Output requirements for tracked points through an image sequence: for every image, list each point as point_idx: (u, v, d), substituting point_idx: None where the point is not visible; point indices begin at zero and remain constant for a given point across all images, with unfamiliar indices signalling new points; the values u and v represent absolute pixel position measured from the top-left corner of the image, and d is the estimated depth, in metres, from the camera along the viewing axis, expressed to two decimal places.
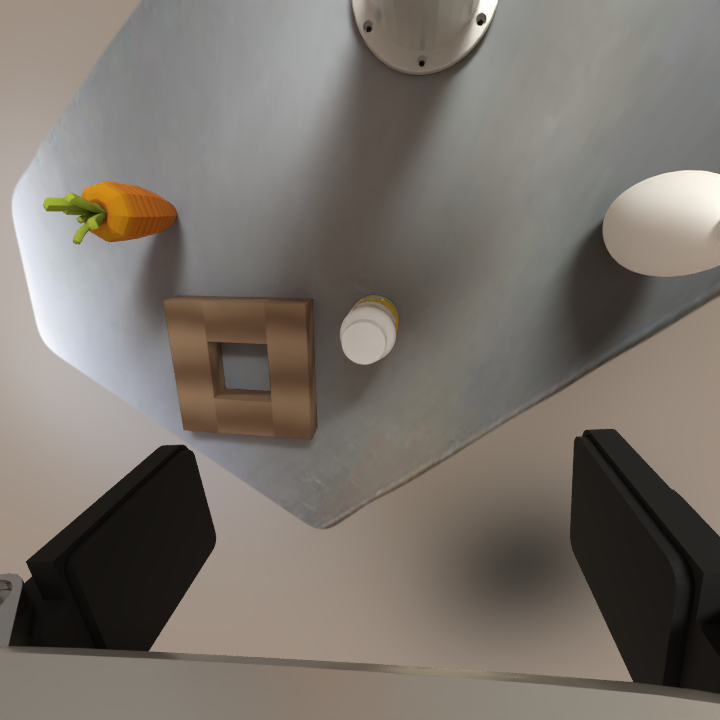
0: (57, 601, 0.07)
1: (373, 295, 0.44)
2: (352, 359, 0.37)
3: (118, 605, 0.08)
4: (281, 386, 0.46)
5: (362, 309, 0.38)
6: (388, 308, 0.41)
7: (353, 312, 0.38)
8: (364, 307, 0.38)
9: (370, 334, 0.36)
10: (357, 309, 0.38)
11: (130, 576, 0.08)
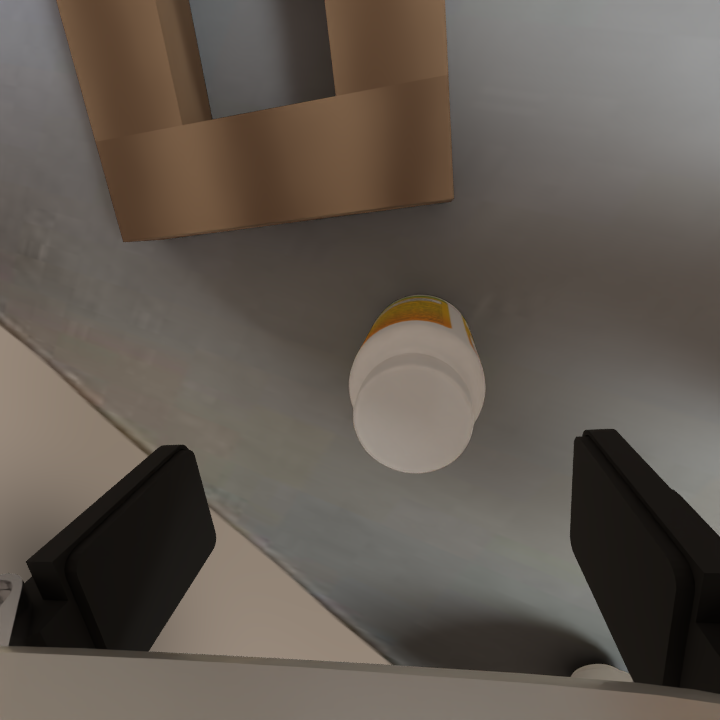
0: (57, 601, 0.07)
1: None
2: (363, 397, 0.13)
3: (118, 605, 0.08)
4: (230, 149, 0.18)
5: (482, 378, 0.15)
6: None
7: (473, 357, 0.15)
8: (484, 377, 0.16)
9: (440, 438, 0.13)
10: (479, 362, 0.15)
11: (130, 576, 0.08)
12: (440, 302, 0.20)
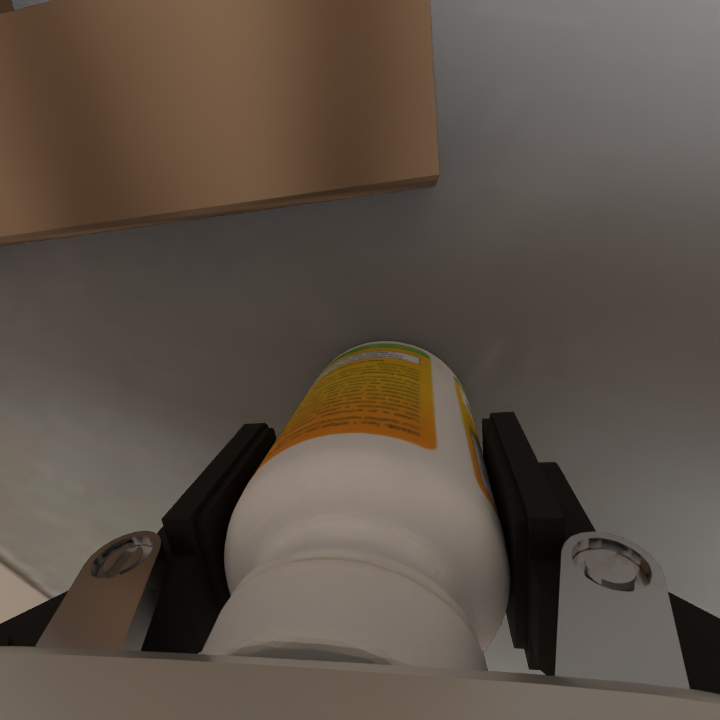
0: (188, 556, 0.07)
1: None
2: None
3: None
4: (13, 81, 0.09)
5: (505, 566, 0.07)
6: None
7: (484, 524, 0.07)
8: None
9: None
10: (497, 529, 0.07)
11: None
12: (417, 359, 0.12)
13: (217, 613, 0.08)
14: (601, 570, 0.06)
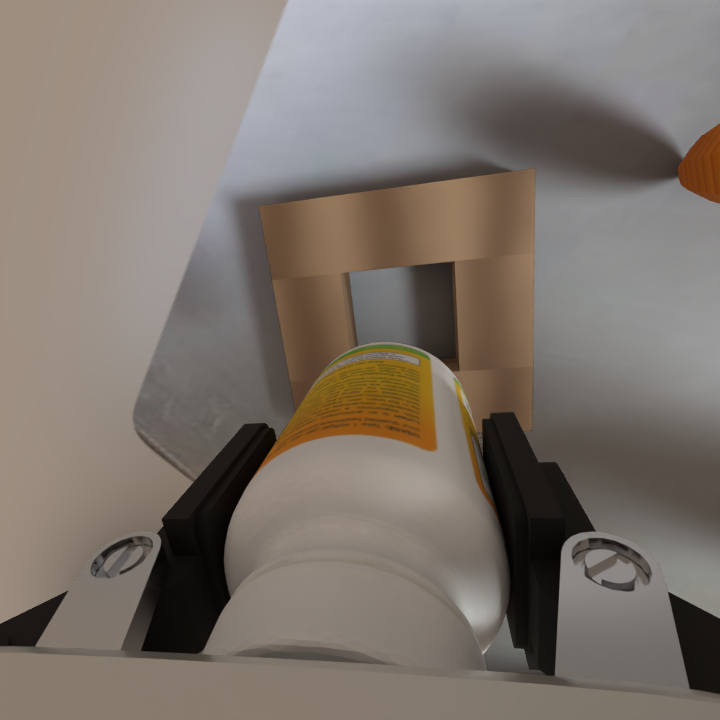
0: (188, 556, 0.07)
1: None
2: None
3: None
4: None
5: (505, 568, 0.07)
6: None
7: (485, 526, 0.07)
8: None
9: None
10: (497, 531, 0.07)
11: None
12: (418, 360, 0.12)
13: (217, 613, 0.08)
14: (601, 570, 0.06)
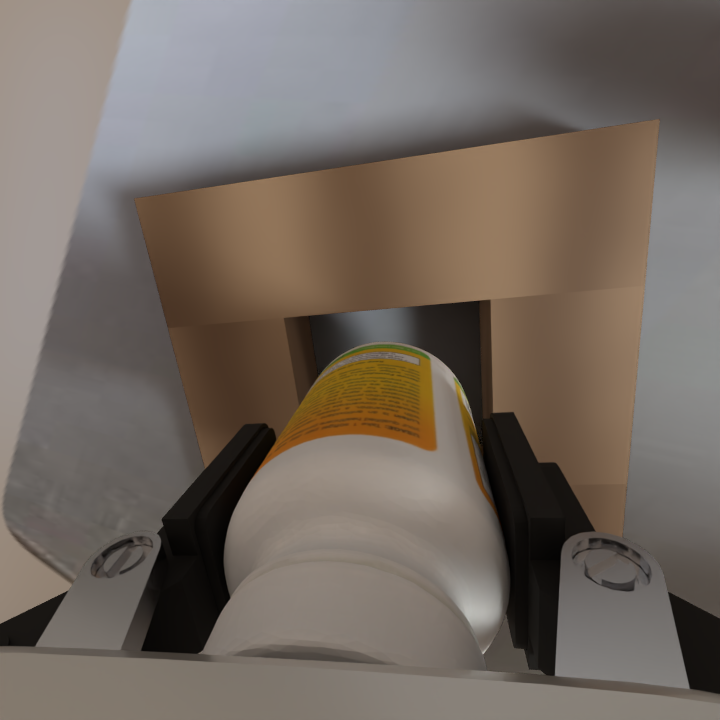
0: (188, 556, 0.07)
1: None
2: None
3: None
4: None
5: (505, 568, 0.07)
6: None
7: (485, 526, 0.07)
8: None
9: None
10: (497, 531, 0.07)
11: None
12: (418, 360, 0.12)
13: (217, 613, 0.08)
14: (601, 570, 0.06)
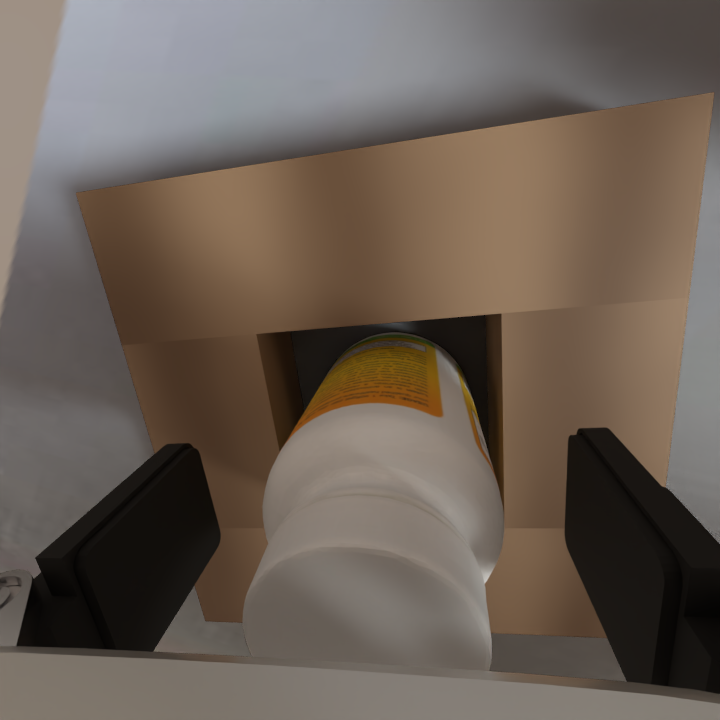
0: (66, 597, 0.07)
1: None
2: (259, 596, 0.06)
3: (126, 601, 0.08)
4: None
5: (500, 513, 0.08)
6: None
7: (483, 477, 0.08)
8: (501, 505, 0.09)
9: None
10: (493, 483, 0.08)
11: (137, 573, 0.08)
12: (424, 348, 0.13)
13: None
14: None
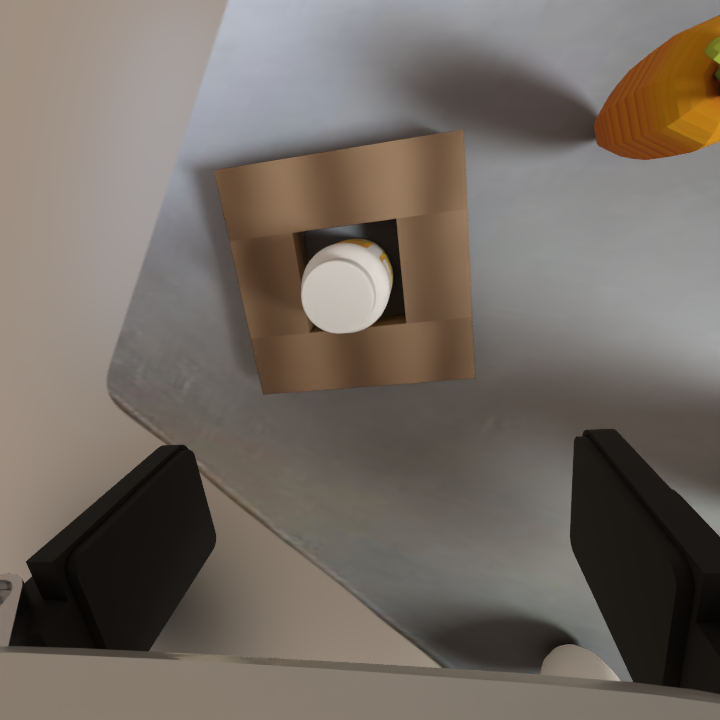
0: (57, 601, 0.07)
1: None
2: (306, 283, 0.22)
3: (118, 605, 0.08)
4: (339, 346, 0.30)
5: (385, 278, 0.24)
6: None
7: (379, 264, 0.24)
8: (388, 279, 0.24)
9: (354, 308, 0.22)
10: (383, 268, 0.24)
11: (130, 576, 0.08)
12: (368, 241, 0.29)
13: None
14: None
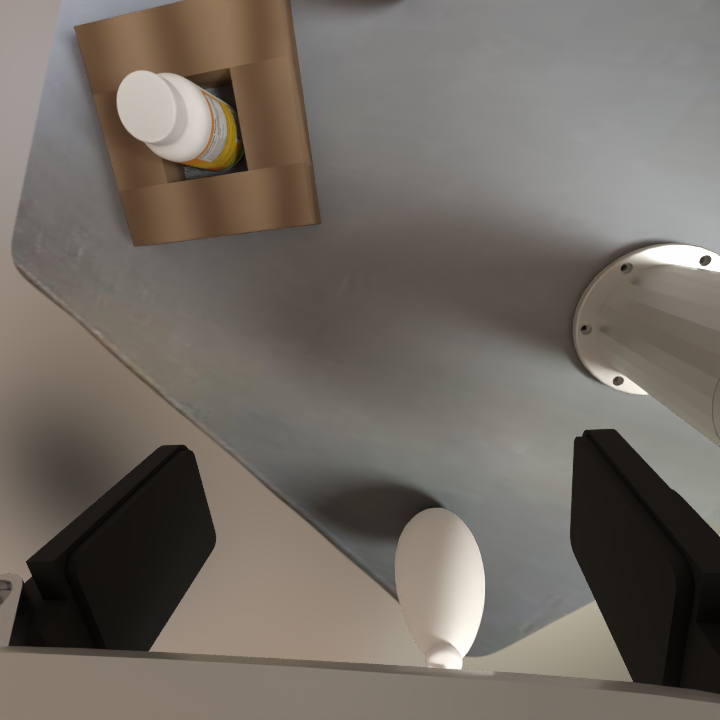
0: (57, 601, 0.07)
1: None
2: (119, 93, 0.26)
3: (118, 605, 0.08)
4: (194, 196, 0.33)
5: (202, 103, 0.27)
6: (223, 148, 0.31)
7: (194, 89, 0.27)
8: (207, 107, 0.28)
9: (160, 115, 0.26)
10: (201, 96, 0.28)
11: (130, 576, 0.08)
12: None
13: None
14: None
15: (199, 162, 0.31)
